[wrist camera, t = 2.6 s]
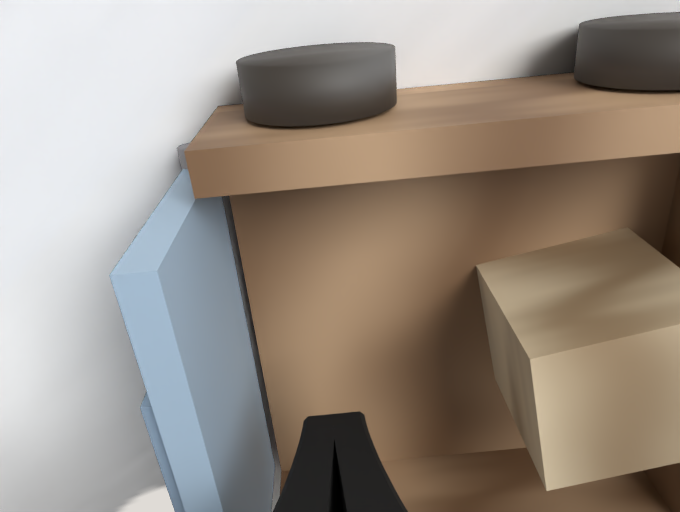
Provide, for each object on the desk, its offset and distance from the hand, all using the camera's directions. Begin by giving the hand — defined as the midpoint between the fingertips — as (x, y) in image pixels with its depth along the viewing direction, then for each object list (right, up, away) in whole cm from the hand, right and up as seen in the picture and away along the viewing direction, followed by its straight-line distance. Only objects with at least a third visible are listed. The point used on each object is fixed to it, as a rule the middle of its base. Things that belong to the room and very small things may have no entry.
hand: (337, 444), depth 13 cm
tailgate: (-3, +2, +4) cm, 6 cm away
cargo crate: (+7, +3, +4) cm, 9 cm away
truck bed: (+4, +3, +5) cm, 7 cm away
